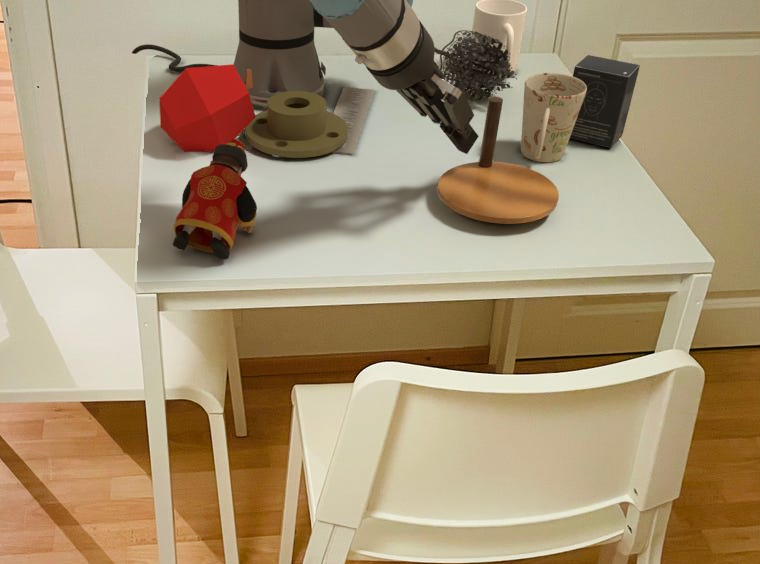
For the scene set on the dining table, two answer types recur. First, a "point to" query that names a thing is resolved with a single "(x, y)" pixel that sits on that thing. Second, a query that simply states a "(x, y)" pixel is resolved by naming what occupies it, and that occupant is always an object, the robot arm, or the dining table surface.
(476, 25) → the cup
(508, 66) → the massage brush
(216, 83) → the red faceted polyhedron
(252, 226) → the figurine
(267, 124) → the flange
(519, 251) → the dining table surface
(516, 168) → the wooden disc with post
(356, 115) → the nameplate
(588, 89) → the box
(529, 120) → the mug
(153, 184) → the dining table surface
